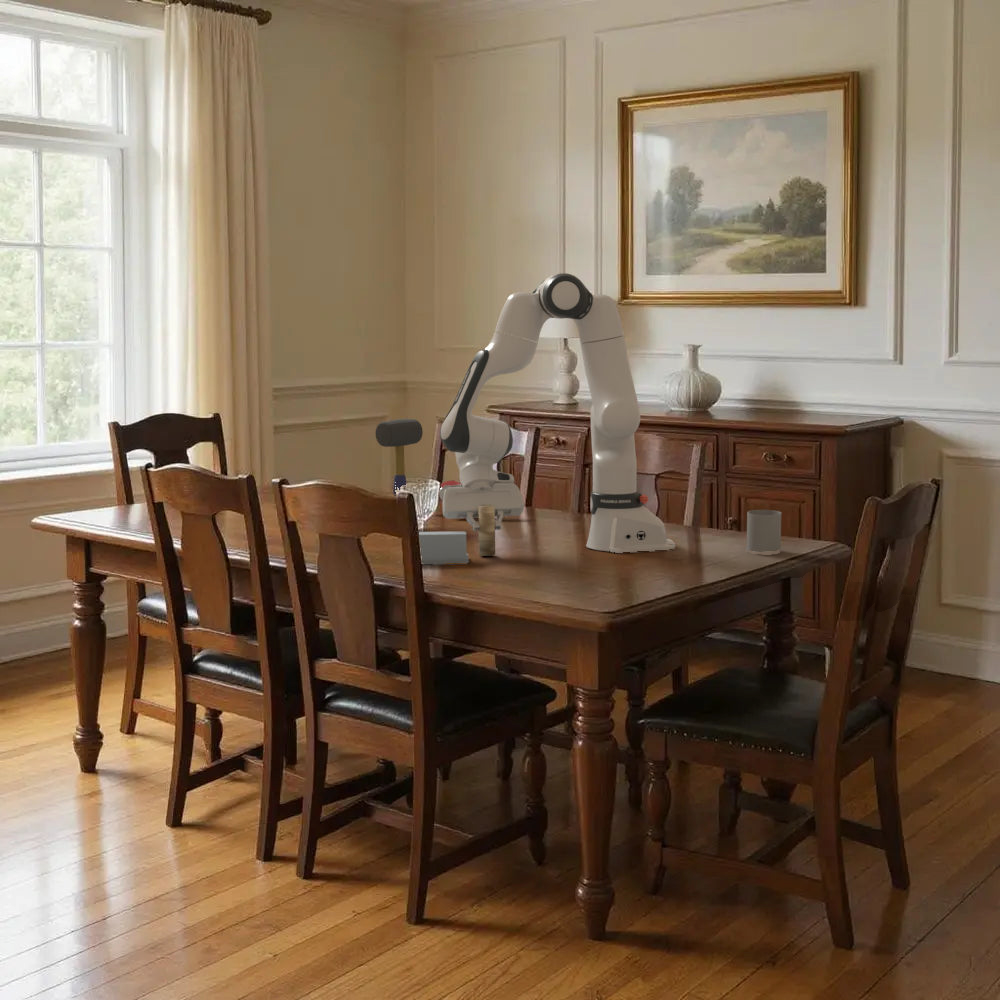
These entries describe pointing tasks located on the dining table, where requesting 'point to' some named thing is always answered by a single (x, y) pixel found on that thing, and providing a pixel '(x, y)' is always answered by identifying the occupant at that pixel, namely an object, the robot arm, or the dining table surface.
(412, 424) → the rubber mallet
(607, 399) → the robot arm
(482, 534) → the dowel
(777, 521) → the cup
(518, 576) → the dining table surface
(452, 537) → the gray rectangular block
